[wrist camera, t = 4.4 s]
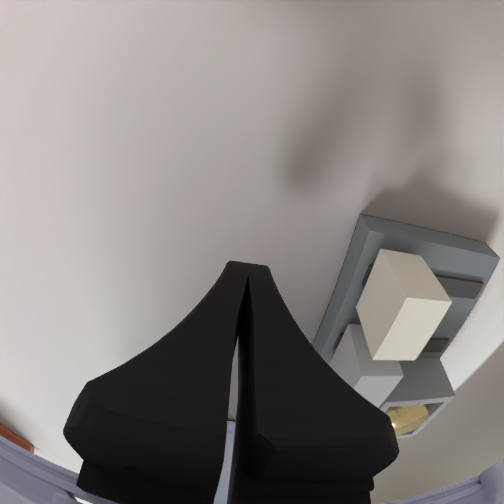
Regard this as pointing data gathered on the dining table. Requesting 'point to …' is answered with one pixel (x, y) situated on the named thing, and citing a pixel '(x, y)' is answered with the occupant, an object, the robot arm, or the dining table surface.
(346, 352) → the grey rectangular block
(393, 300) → the cream rectangular prism
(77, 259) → the dining table surface
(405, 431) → the brass button
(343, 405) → the robot arm
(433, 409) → the panel board
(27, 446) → the control panel
